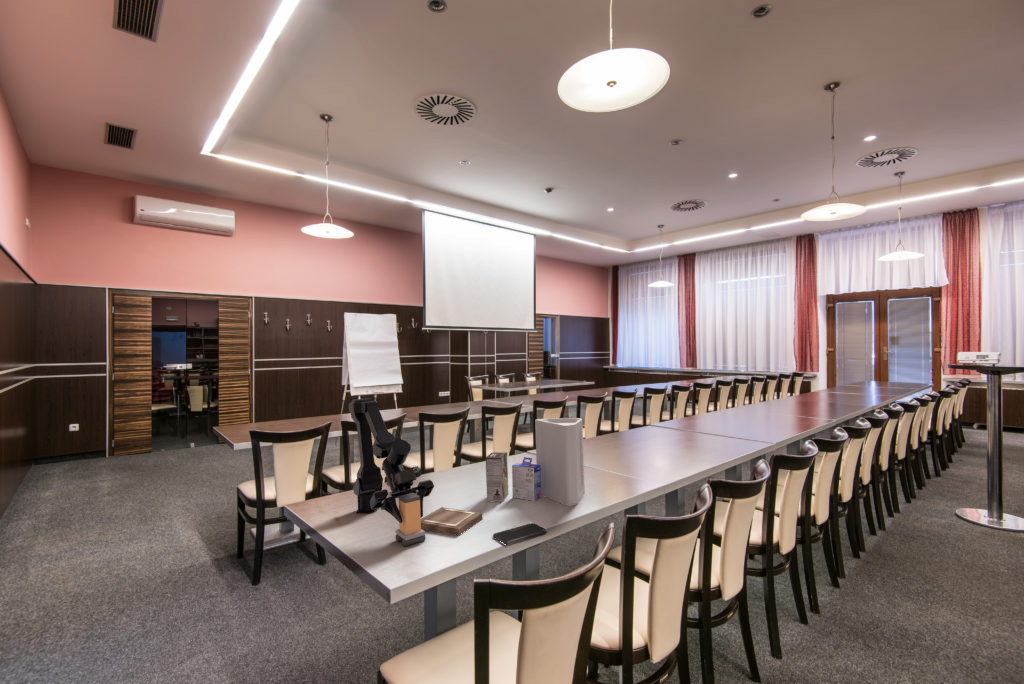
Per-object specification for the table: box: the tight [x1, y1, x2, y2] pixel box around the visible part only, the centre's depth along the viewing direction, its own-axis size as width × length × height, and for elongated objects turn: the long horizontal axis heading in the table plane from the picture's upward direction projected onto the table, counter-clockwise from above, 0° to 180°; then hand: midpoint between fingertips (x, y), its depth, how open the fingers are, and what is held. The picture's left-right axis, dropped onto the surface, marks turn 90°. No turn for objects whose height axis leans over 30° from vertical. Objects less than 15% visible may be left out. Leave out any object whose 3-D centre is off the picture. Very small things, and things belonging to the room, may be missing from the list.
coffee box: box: [485, 451, 509, 503], centre depth 169 cm, size 9×6×16 cm
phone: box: [492, 522, 548, 546], centre depth 134 cm, size 8×1×15 cm
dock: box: [421, 506, 483, 536], centre depth 144 cm, size 16×14×2 cm
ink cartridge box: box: [511, 456, 542, 502], centre depth 168 cm, size 10×6×14 cm, turn 58°
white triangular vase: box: [534, 417, 586, 507], centre depth 169 cm, size 19×15×28 cm
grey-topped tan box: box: [394, 493, 426, 547], centre depth 132 cm, size 7×6×13 cm
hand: (411, 519), depth 131 cm, fingers open, 6 cm apart
